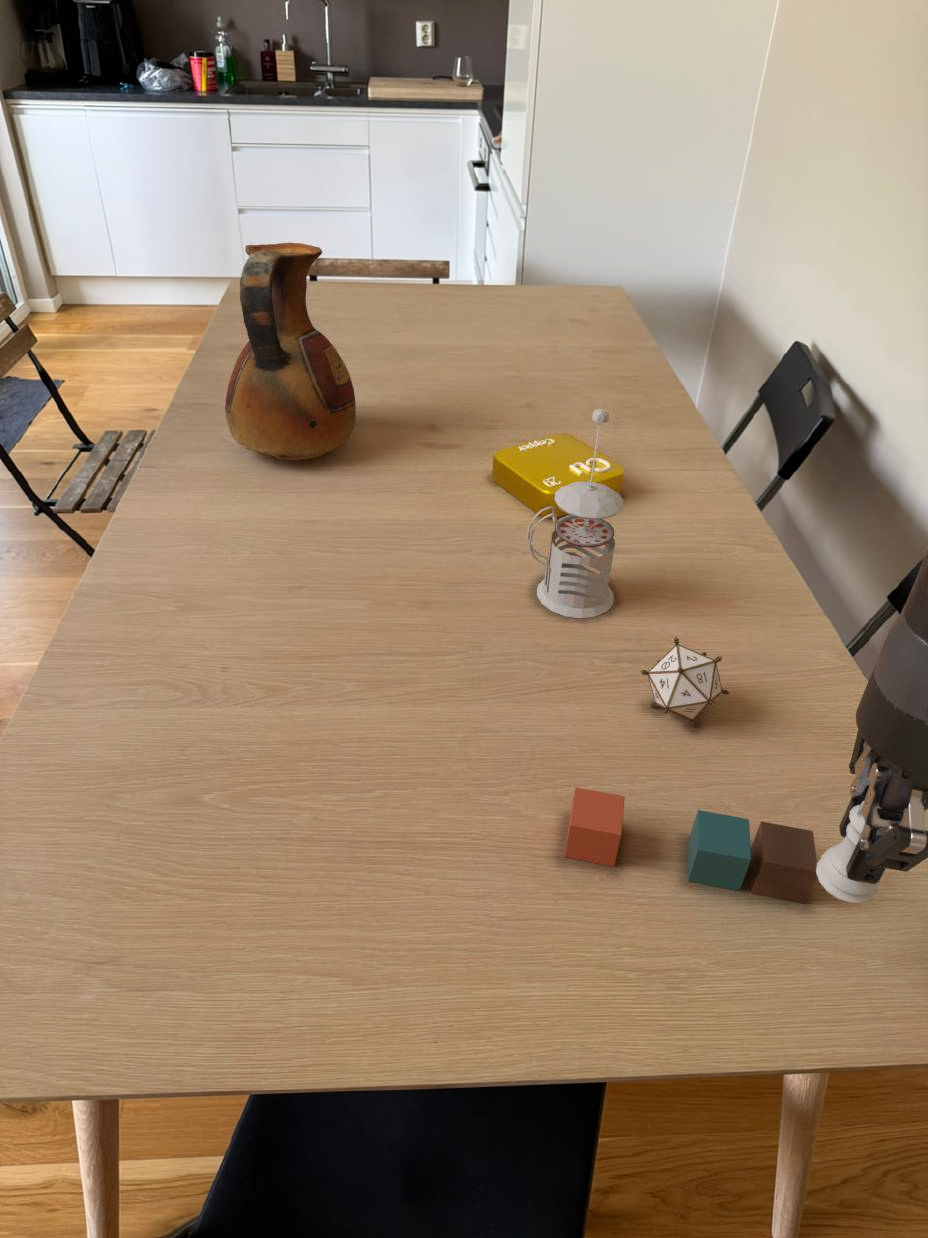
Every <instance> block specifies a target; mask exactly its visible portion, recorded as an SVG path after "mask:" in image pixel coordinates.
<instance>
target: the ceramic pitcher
mask: <svg viewBox="0 0 928 1238" xmlns="http://www.w3.org/2000/svg"><path fill="white" fill-rule="evenodd" d="M244 251H245V253H246V255H248V258H247V259H246V260H245V263H244V265H243V267H242V271H241V276H240V279H239V301H240V306H241V311H242V317H243V324H244V326H245V329H246V334H247V338H248V341H247V343H246V344H245V345H244V346H243V348H242V349H241V351H240V353H239V355H238V356H237V358H236V361H235V363H234V365H233V368H232V372H231V375H230V377H229V382H228V385H227V390H226V395H225V403H224V404H225V405H224V411H225V418H226V423H227V426H228V429H229V432H230V434H231V436H232V437H233V440H235V441H236V442H237V444H239V445H240V446H241V447H243V448H245V449H246V450H249V451H252V452H254V453H255V452H256V453H258V454H261V455H266V456H267V455H268V456H273V457H275V458H277V459H278V460H294V461H297V460H308V459H313V458H317V457H321V456H323V455H325V454H327V453H328V452H330V451H332V450H334V449H336V448H338V447H340V446H341V445H343V444H344V443H345V442H347V441H348V440H349V439H350V437H351V436H352V434H353V431H354V430H355V425H356V418H357V417H356V416H357V415H356V414H357V406H356V405H357V404H356V403H357V402H356V395H355V389H354V385H353V382H352V378H351V375H350V372H349V370H348V368H347V365H346V364H345V362H344V360H343V358H342V357H341V355H340V354H339V352H338V350H337V349H336V347H335V346H334V344H332V343H331V341H330V340H329V339H328V338H327V337H326V336H325V335H324V333H322V332H321V331H319V330H318V329H316V327H314V325H313V323H312V321H311V319H310V316H309V312H308V308H307V307H308V306H307V289H308V284H307V281H308V280H307V279H308V273H309V270H310V268H311V266H312V265H313V264H314V263H315V262H316V260H317V259H318V258H319V257H321V256H322V254H323V250H322V248H321V247H320V246H314V245H312V244H306V243H300V242H280V243H268V244H265V243H264V244H247V245H245V248H244Z"/></svg>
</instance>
